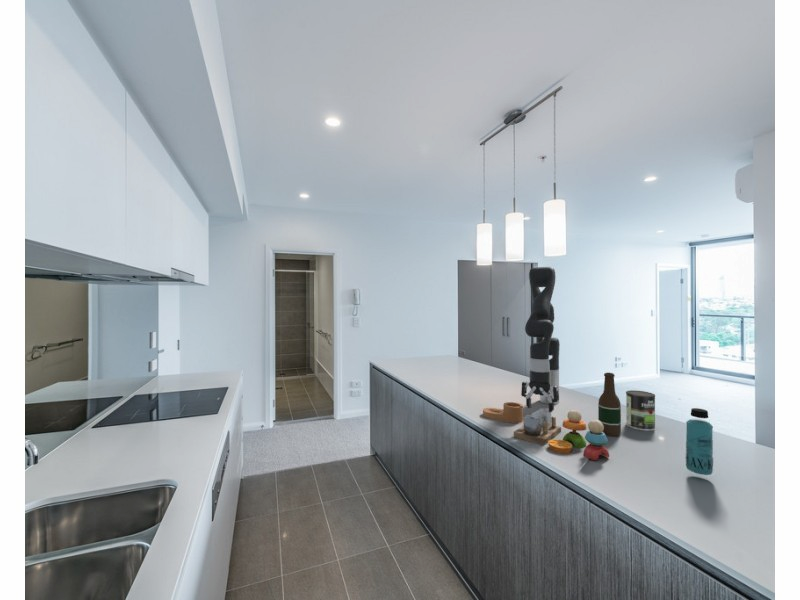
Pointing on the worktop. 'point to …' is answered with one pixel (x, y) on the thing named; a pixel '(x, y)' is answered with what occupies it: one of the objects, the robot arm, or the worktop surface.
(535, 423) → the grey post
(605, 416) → the beer bottle
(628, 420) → the coffee can
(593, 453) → the wooden stacking toy
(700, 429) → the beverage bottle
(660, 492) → the worktop surface
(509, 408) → the bracket
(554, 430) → the rack
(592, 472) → the worktop surface
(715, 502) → the worktop surface
